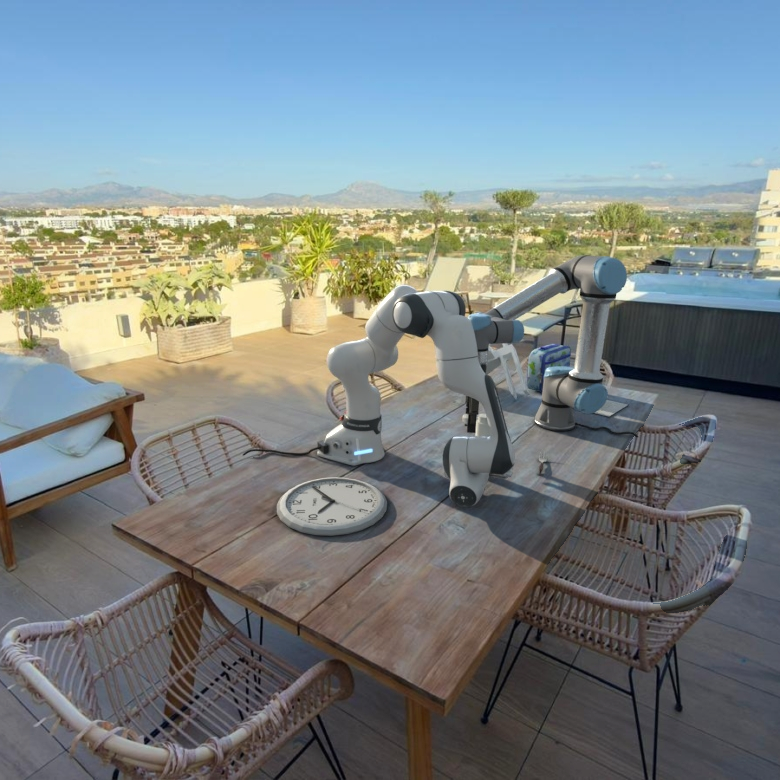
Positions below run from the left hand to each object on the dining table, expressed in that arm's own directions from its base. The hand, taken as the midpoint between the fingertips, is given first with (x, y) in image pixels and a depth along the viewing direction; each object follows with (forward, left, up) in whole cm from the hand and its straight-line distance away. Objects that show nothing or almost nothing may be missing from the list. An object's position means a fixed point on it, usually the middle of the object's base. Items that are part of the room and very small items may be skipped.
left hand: (482, 453), depth 162 cm
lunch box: (+14, +102, -7) cm, 103 cm away
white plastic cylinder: (0, -1, -7) cm, 7 cm away
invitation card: (+38, +82, -7) cm, 91 cm away
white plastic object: (-15, +83, -7) cm, 85 cm away
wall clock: (-35, -35, -7) cm, 50 cm away
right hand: (-7, +15, +2) cm, 16 cm away
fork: (+18, +12, -7) cm, 22 cm away
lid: (-7, +15, +6) cm, 17 cm away
